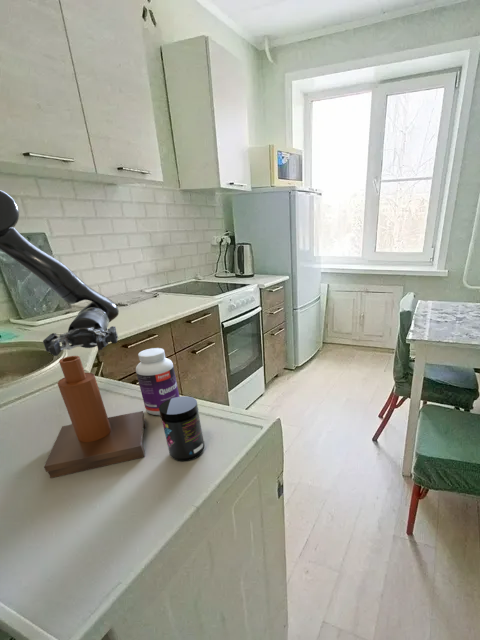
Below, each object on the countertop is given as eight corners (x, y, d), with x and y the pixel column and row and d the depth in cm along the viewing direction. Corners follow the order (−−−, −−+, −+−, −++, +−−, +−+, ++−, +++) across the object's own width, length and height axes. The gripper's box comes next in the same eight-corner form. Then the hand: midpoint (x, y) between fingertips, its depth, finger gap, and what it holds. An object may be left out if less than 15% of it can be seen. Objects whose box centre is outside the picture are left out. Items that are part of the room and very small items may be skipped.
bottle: (75, 445, 67) (46, 367, 60) (80, 429, 72) (54, 356, 65) (109, 438, 69) (85, 362, 62) (112, 422, 74) (90, 351, 67)
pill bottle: (167, 419, 80) (153, 360, 73) (138, 414, 82) (123, 357, 76) (188, 402, 87) (177, 347, 80) (161, 398, 89) (148, 344, 83)
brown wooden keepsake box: (49, 479, 63) (43, 466, 61) (66, 438, 75) (61, 426, 73) (144, 458, 67) (140, 445, 66) (146, 422, 79) (143, 410, 78)
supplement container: (184, 438, 72) (175, 394, 68) (212, 445, 70) (204, 399, 65) (162, 458, 67) (150, 411, 62) (191, 466, 64) (181, 417, 60)
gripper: (52, 317, 84) (31, 335, 70) (116, 310, 88) (109, 326, 74) (62, 346, 87) (44, 370, 73) (123, 338, 91) (117, 359, 77)
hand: (76, 348), depth 74 cm, fingers open, 8 cm apart
